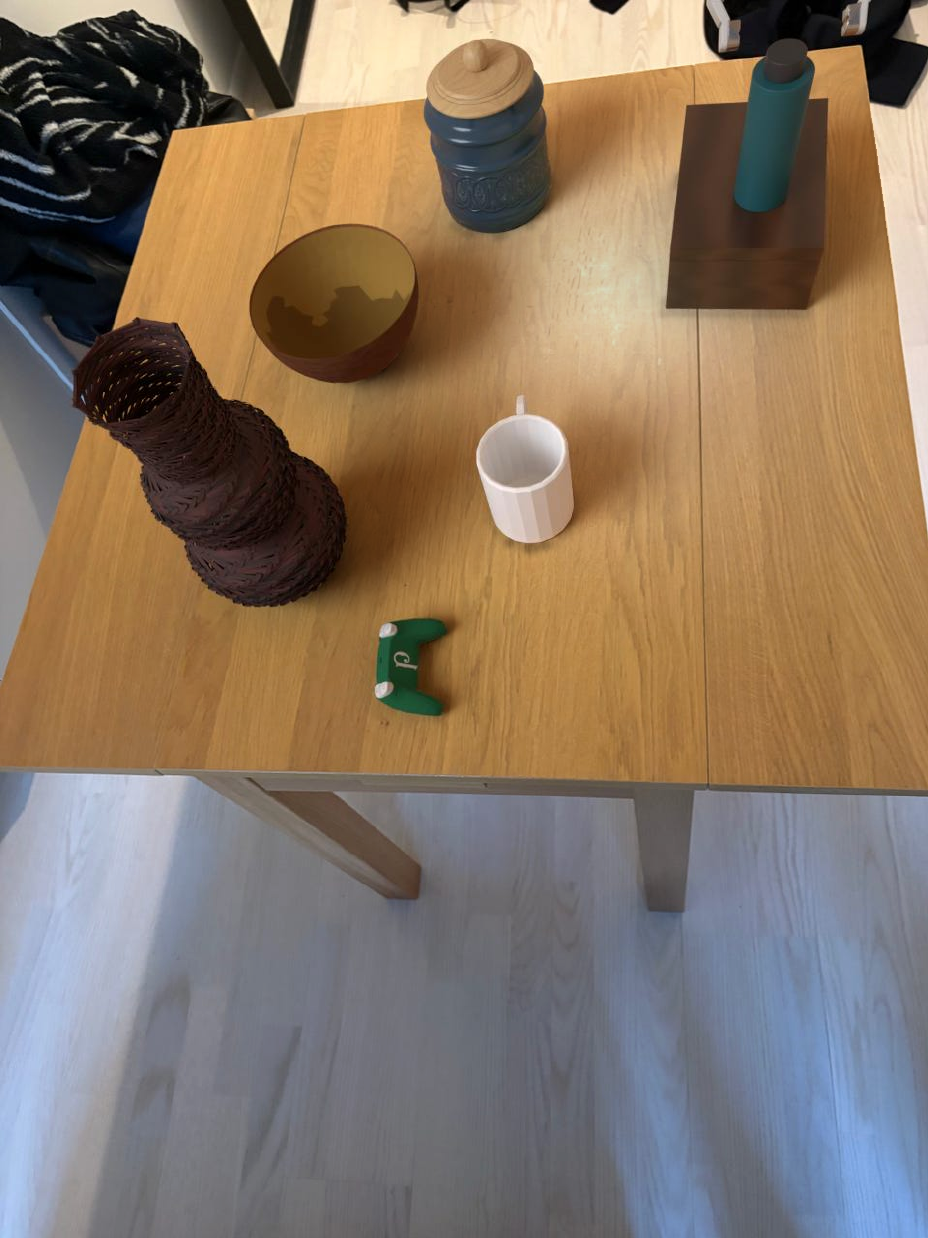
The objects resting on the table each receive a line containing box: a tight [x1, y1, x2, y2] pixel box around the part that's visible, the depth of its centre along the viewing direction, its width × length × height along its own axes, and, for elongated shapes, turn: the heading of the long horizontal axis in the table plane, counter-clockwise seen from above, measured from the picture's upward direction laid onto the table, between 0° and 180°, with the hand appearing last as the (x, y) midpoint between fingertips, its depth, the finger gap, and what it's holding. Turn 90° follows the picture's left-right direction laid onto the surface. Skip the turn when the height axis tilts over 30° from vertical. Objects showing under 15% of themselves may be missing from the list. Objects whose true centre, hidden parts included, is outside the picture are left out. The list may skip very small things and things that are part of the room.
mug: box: [475, 394, 575, 544], centre depth 74 cm, size 8×12×10 cm
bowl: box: [248, 223, 420, 384], centre depth 85 cm, size 18×18×10 cm
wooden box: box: [665, 97, 829, 311], centre depth 82 cm, size 14×20×8 cm
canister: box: [423, 38, 552, 234], centre depth 87 cm, size 13×13×18 cm
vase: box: [70, 316, 348, 608], centre depth 67 cm, size 15×15×30 cm
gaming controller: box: [374, 617, 448, 717], centre depth 72 cm, size 9×4×6 cm
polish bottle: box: [734, 38, 816, 212], centre depth 71 cm, size 5×5×14 cm
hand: (790, 41), depth 64 cm, fingers open, 8 cm apart
